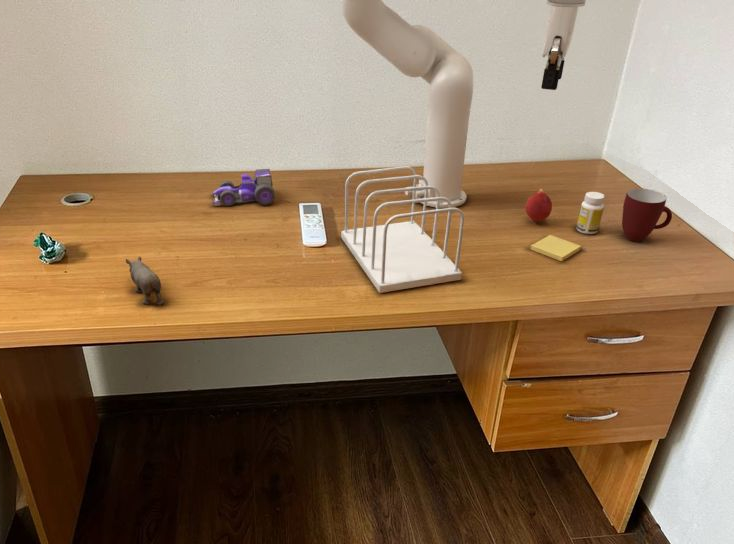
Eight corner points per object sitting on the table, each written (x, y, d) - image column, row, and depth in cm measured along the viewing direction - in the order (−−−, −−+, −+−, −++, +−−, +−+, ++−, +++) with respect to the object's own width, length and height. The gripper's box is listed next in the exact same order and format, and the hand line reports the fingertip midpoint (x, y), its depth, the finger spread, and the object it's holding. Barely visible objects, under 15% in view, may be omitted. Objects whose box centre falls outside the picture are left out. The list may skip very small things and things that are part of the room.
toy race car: (212, 193, 167) (209, 168, 163) (272, 190, 169) (270, 165, 166) (213, 209, 160) (210, 183, 156) (275, 205, 162) (274, 179, 158)
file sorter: (340, 238, 147) (341, 170, 138) (413, 228, 151) (418, 161, 142) (379, 293, 127) (382, 218, 118) (461, 281, 131) (471, 207, 122)
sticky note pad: (561, 261, 138) (562, 257, 138) (530, 249, 143) (530, 245, 142) (580, 250, 143) (581, 245, 142) (549, 238, 147) (549, 234, 147)
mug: (654, 229, 151) (667, 187, 145) (671, 245, 145) (685, 202, 139) (609, 230, 151) (620, 188, 145) (623, 246, 144) (635, 203, 138)
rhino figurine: (143, 273, 134) (138, 246, 130) (168, 303, 124) (163, 275, 121) (123, 278, 132) (117, 251, 128) (146, 309, 122) (141, 281, 119)
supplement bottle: (599, 228, 152) (608, 193, 147) (596, 236, 148) (605, 200, 143) (577, 224, 153) (585, 189, 149) (574, 232, 150) (582, 197, 145)
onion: (549, 219, 156) (556, 186, 151) (547, 229, 151) (554, 195, 147) (524, 215, 157) (530, 183, 153) (521, 225, 153) (527, 192, 148)
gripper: (553, -10, 144) (538, 73, 154) (543, 1, 131) (528, 91, 141) (589, -8, 142) (572, 76, 152) (583, 3, 129) (565, 95, 138)
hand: (551, 83), depth 146 cm, fingers open, 9 cm apart
